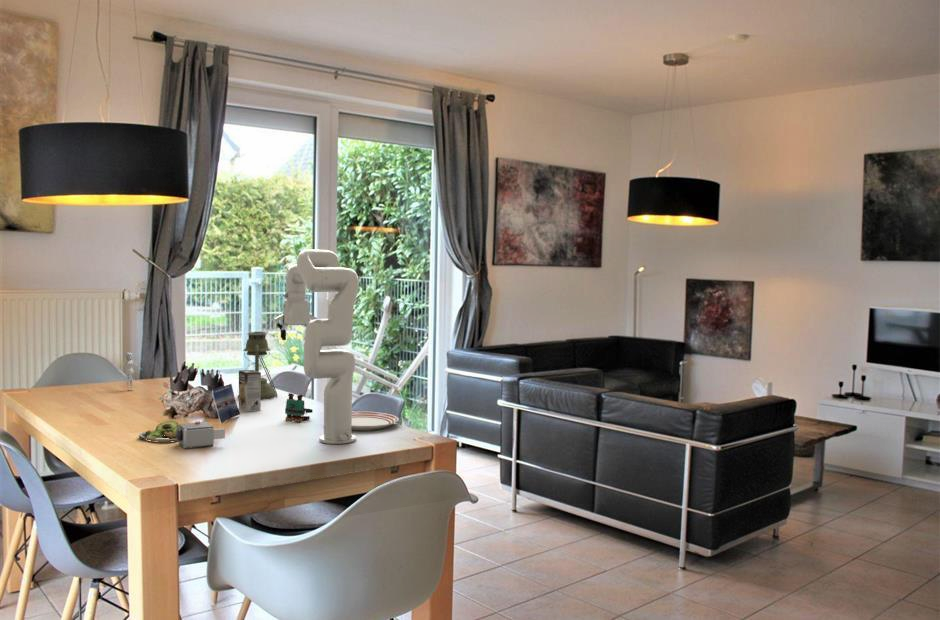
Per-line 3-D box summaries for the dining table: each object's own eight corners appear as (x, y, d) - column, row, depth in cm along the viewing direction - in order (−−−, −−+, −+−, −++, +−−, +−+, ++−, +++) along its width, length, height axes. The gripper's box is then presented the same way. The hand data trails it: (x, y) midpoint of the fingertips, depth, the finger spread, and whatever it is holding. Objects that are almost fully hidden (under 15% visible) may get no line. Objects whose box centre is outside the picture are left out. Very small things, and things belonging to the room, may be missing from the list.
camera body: (213, 445, 255) (212, 424, 255) (180, 449, 250) (180, 427, 249) (206, 440, 263) (206, 419, 262) (175, 443, 257) (175, 422, 257)
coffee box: (238, 408, 322) (238, 370, 321) (252, 406, 326) (252, 369, 325) (246, 411, 315) (246, 372, 314) (261, 410, 319) (261, 371, 318)
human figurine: (117, 392, 357) (117, 353, 356) (114, 391, 360) (114, 353, 359) (143, 389, 365) (143, 352, 364) (140, 388, 368) (140, 351, 367)
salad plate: (211, 437, 268) (211, 424, 268) (166, 447, 253) (166, 433, 253) (177, 430, 279) (177, 418, 279) (132, 439, 264) (132, 426, 264)
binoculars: (317, 394, 303) (300, 395, 294) (315, 421, 303) (298, 422, 294) (299, 392, 307) (282, 393, 298) (297, 418, 307) (280, 420, 298)
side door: (224, 443, 256) (224, 426, 255) (183, 448, 249) (183, 429, 249) (224, 443, 257) (224, 425, 256) (183, 447, 250) (183, 429, 250)
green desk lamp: (238, 393, 359) (238, 330, 357) (277, 392, 364) (277, 329, 362) (237, 401, 339) (237, 333, 338) (277, 400, 344) (278, 333, 342)
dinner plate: (400, 419, 306) (400, 410, 306) (396, 433, 279) (396, 424, 279) (331, 418, 305) (331, 410, 305) (320, 433, 278) (320, 424, 278)
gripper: (277, 296, 294) (277, 341, 295) (320, 296, 303) (320, 339, 304) (271, 296, 300) (271, 339, 301) (313, 295, 309) (313, 338, 310)
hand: (295, 339), depth 302 cm, fingers open, 9 cm apart
